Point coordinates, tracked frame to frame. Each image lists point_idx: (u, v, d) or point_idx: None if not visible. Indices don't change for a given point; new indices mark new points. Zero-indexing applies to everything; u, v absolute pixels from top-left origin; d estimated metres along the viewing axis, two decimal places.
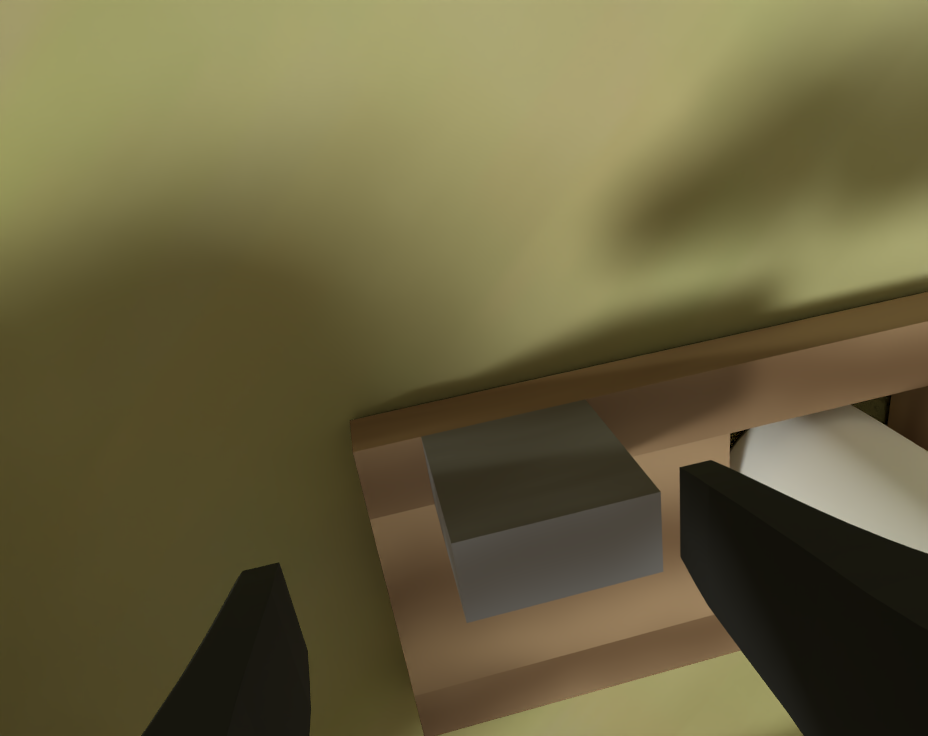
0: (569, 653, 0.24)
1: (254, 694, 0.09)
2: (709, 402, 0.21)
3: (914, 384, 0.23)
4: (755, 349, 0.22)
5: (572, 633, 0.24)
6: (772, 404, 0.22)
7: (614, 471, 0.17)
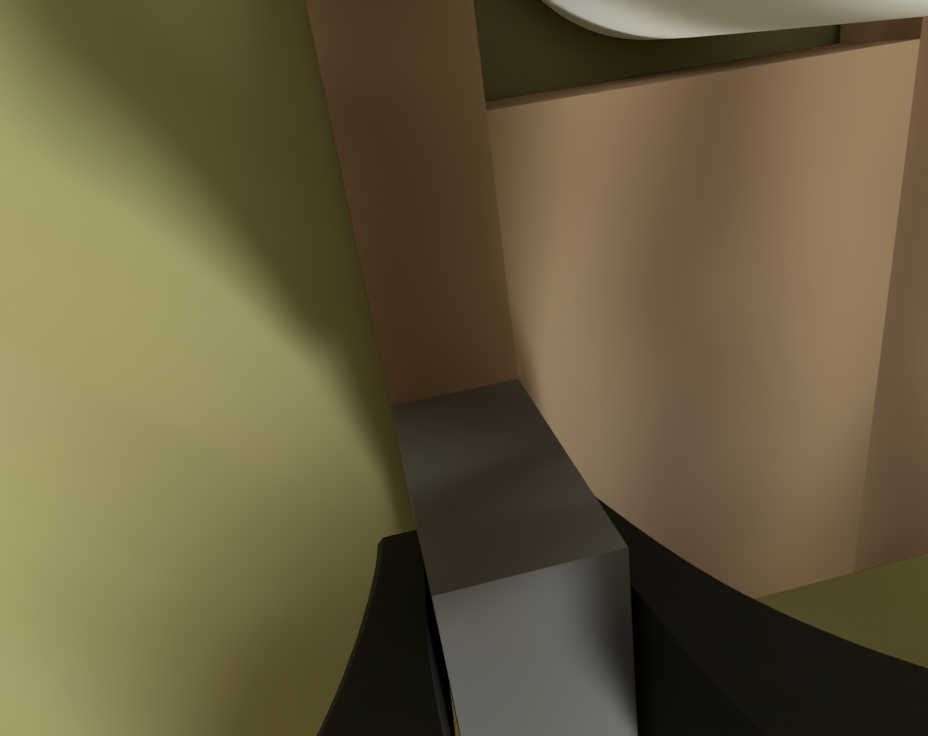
0: (878, 361, 0.14)
1: (432, 647, 0.09)
2: (412, 170, 0.11)
3: None
4: None
5: (840, 361, 0.14)
6: (428, 14, 0.10)
7: None
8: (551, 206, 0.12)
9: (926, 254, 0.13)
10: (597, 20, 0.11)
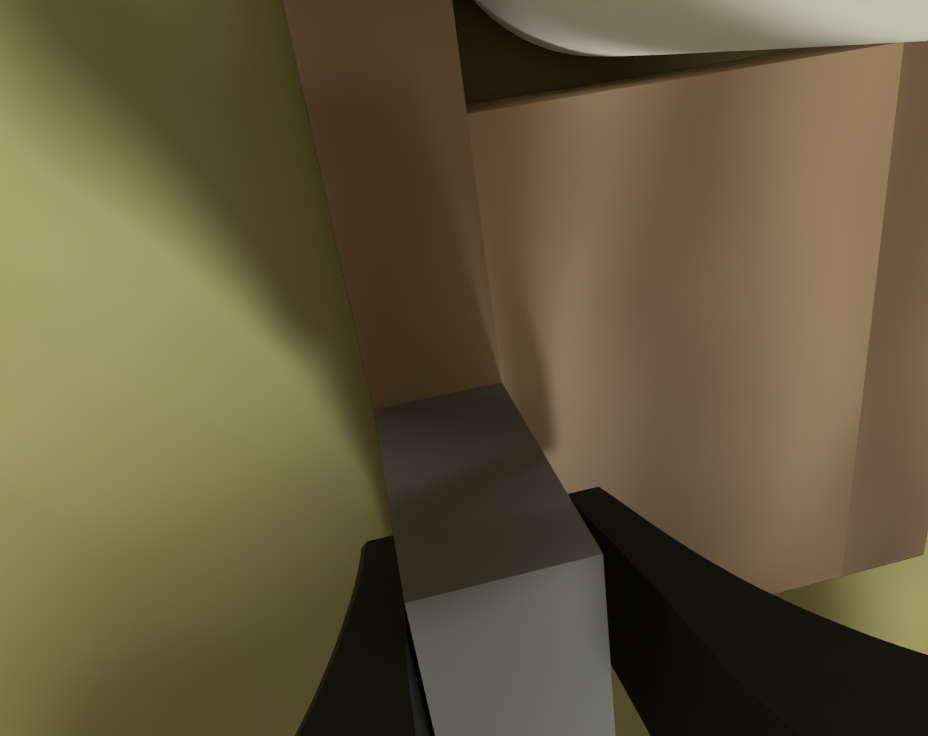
0: (865, 364, 0.14)
1: (411, 653, 0.09)
2: (393, 174, 0.11)
3: None
4: None
5: (826, 365, 0.14)
6: (406, 17, 0.10)
7: None
8: (534, 209, 0.12)
9: (912, 257, 0.13)
10: (535, 34, 0.11)
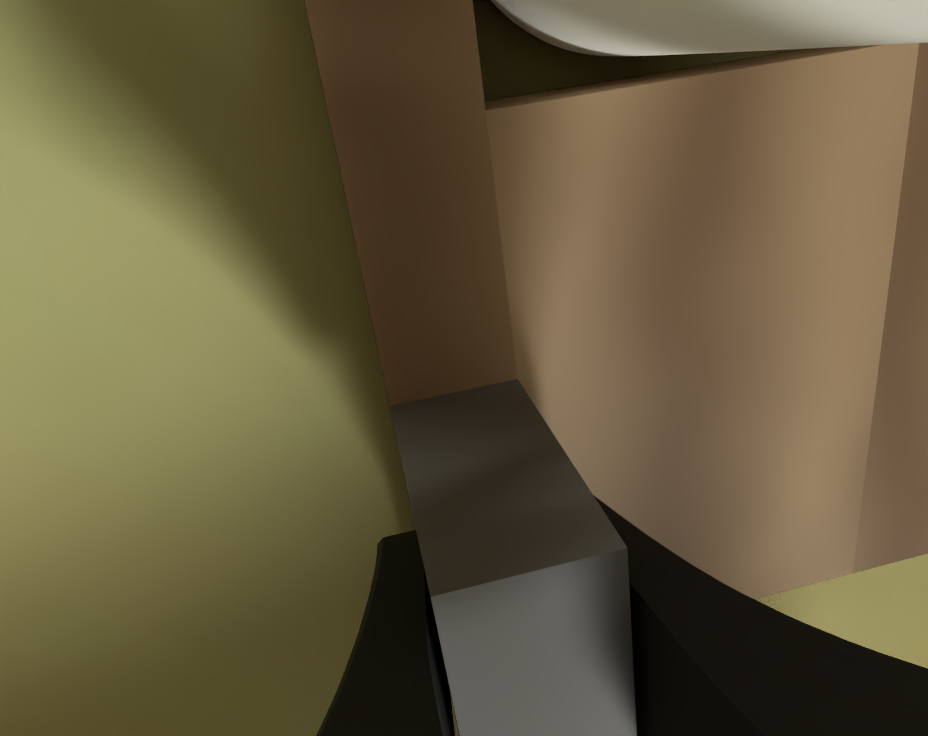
0: (878, 360, 0.14)
1: (431, 647, 0.09)
2: (411, 171, 0.11)
3: None
4: None
5: (839, 361, 0.14)
6: (427, 14, 0.10)
7: None
8: (551, 206, 0.12)
9: (926, 254, 0.13)
10: (550, 32, 0.11)
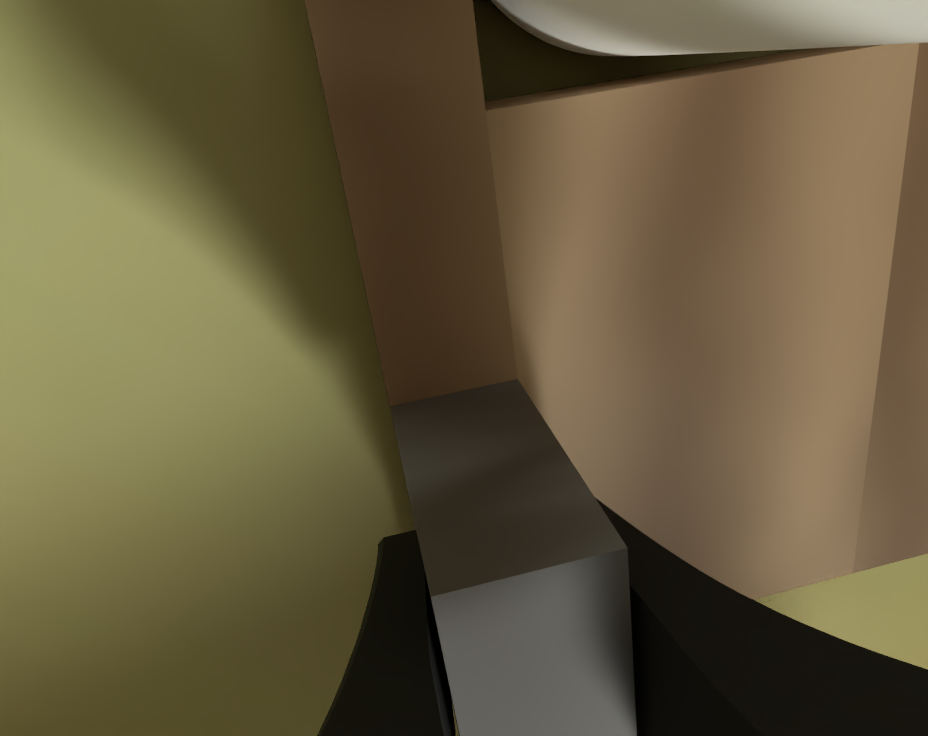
0: (878, 360, 0.14)
1: (431, 647, 0.09)
2: (412, 171, 0.11)
3: None
4: None
5: (839, 361, 0.14)
6: (427, 14, 0.10)
7: (425, 572, 0.09)
8: (551, 206, 0.12)
9: (925, 254, 0.13)
10: (550, 32, 0.11)
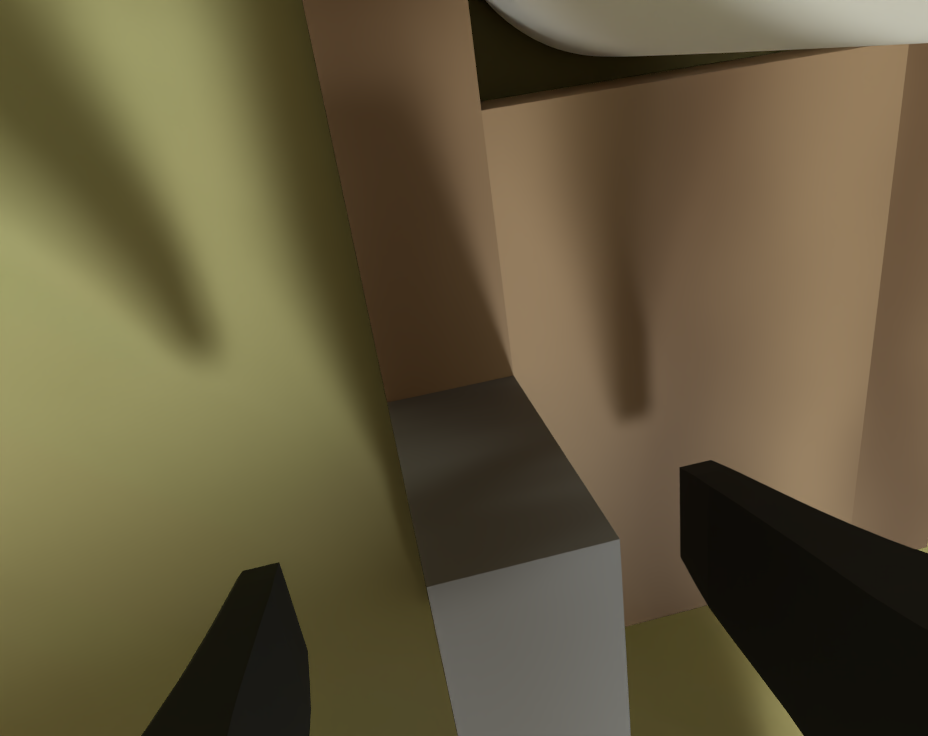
0: (870, 357, 0.14)
1: (254, 693, 0.09)
2: (408, 169, 0.11)
3: None
4: None
5: (831, 358, 0.14)
6: (423, 15, 0.10)
7: None
8: (546, 204, 0.12)
9: (916, 252, 0.14)
10: (545, 33, 0.11)
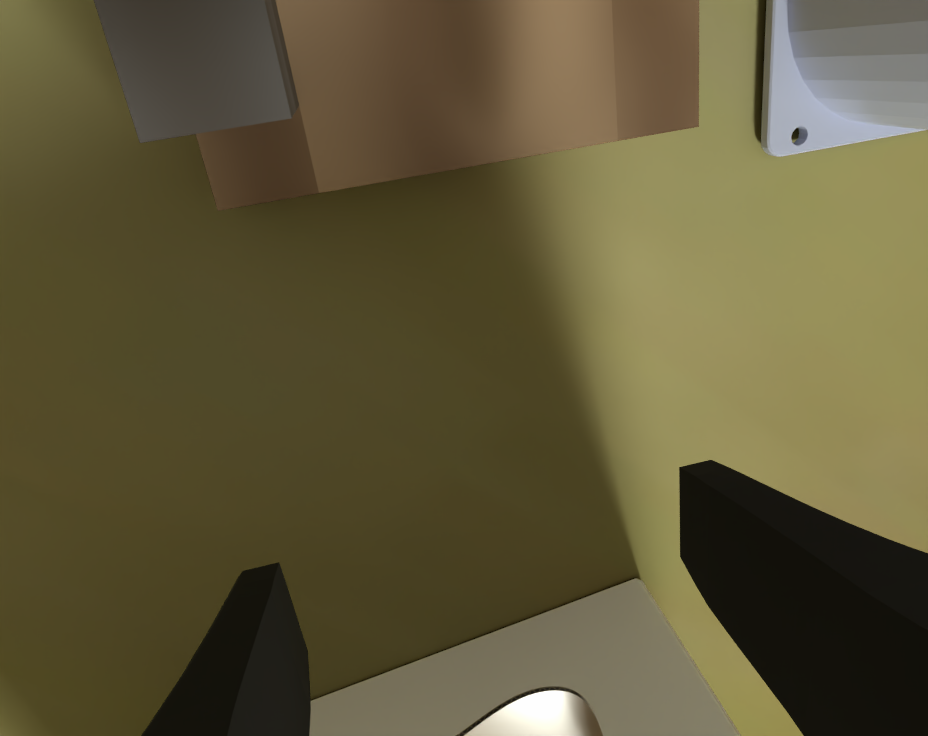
0: None
1: (254, 694, 0.09)
2: None
3: None
4: None
5: None
6: None
7: None
8: None
9: None
10: None
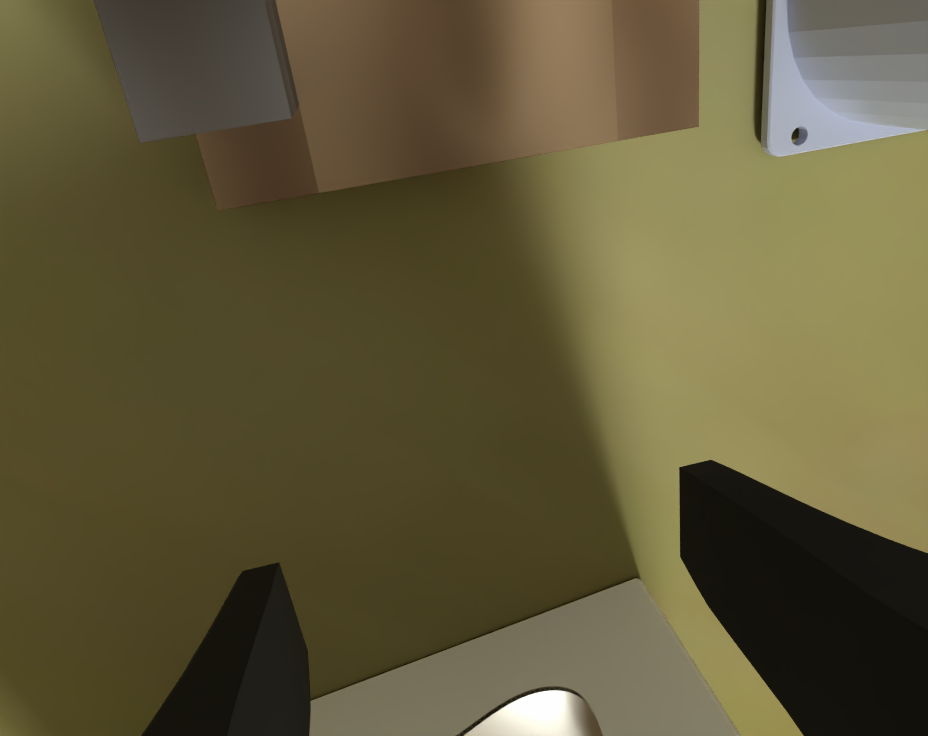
0: None
1: (254, 694, 0.09)
2: None
3: None
4: None
5: None
6: None
7: None
8: None
9: None
10: None
